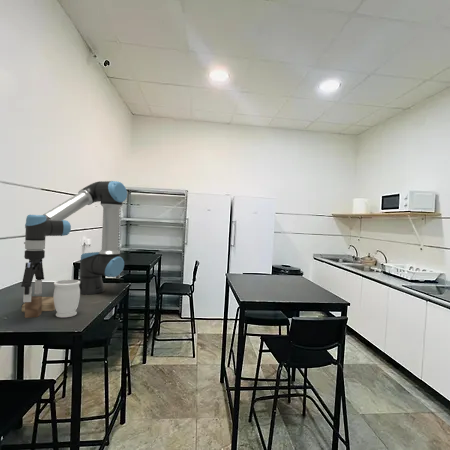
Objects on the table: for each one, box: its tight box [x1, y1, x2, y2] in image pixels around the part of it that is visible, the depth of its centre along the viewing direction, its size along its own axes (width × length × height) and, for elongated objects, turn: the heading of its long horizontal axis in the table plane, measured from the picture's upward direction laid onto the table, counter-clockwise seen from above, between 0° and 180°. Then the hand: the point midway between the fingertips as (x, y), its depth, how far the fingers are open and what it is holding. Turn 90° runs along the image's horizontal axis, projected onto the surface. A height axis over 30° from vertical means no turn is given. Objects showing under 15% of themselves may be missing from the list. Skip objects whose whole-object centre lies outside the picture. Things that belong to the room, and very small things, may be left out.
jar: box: [53, 279, 81, 318], centre depth 137 cm, size 11×10×15 cm
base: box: [21, 296, 56, 313], centre depth 147 cm, size 13×14×3 cm
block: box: [24, 295, 43, 319], centre depth 134 cm, size 5×5×8 cm
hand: (32, 297), depth 134 cm, fingers open, 13 cm apart
